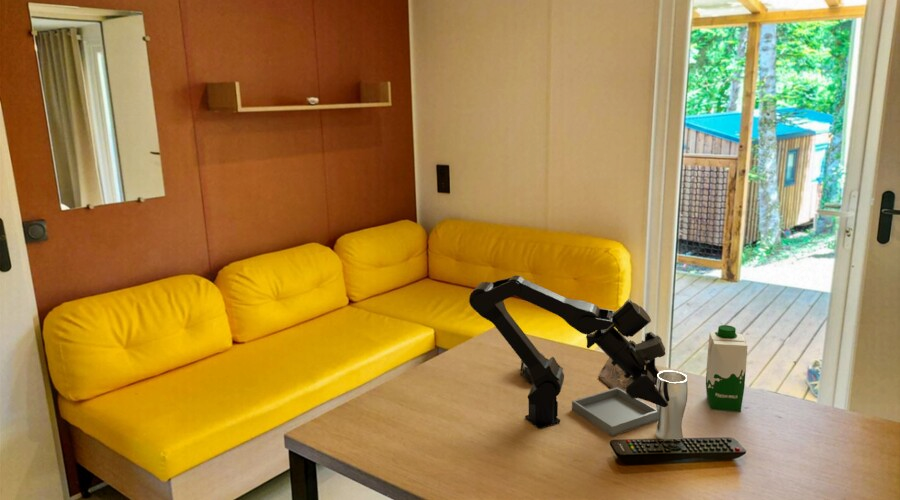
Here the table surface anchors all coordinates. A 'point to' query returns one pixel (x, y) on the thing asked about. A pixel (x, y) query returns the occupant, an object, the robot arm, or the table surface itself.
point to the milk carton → (726, 369)
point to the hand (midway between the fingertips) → (666, 396)
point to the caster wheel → (526, 371)
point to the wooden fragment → (613, 376)
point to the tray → (615, 411)
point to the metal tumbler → (671, 404)
